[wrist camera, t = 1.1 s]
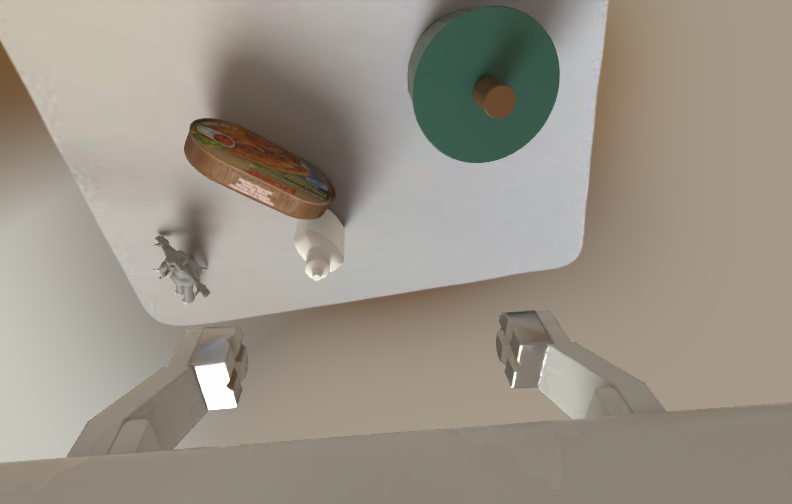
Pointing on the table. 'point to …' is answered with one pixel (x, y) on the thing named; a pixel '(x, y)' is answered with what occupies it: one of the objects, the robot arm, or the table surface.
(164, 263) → the grey creature figurine
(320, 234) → the eye dropper bottle
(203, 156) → the tin
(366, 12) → the table surface
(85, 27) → the table surface
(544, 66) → the lid
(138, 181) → the table surface
